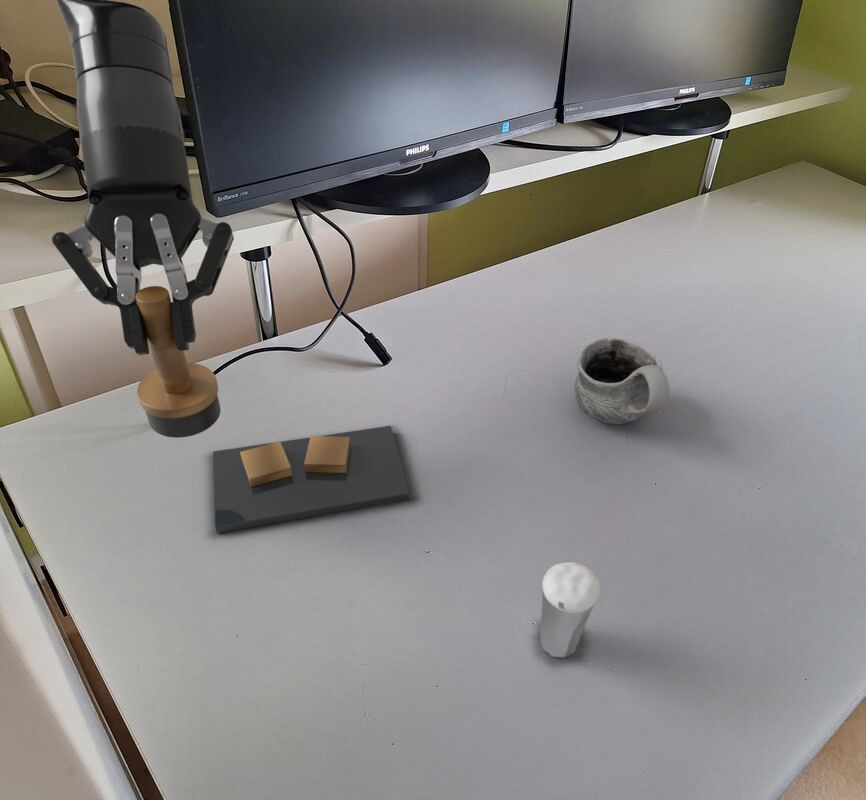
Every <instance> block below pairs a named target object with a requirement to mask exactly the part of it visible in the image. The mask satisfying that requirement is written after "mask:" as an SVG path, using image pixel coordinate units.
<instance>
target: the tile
mask: <svg viewBox="0 0 866 800" xmlns="http://www.w3.org/2000/svg"><path fill="white" fill-rule="evenodd" d="M322 436H331V437H350V441H351V447H350V453H349V458H348V464H347V470H346V473H328V472H305V466H304V462H305V458H306V454H307V450H308V445H309V441H310V437H311V436H310V437H303V438H297V439H296V438H295V439H290V440H282V441H280V442H281V443H282V446H283V448H284V451H285V453H286V456H287V458H288V461H289V463H290V466H291V470H292V476H288V477H285V478H281V479H278V480H274V481H271V482H267V483H264V484H260V485H257V486H253V487H251V486H250V483H249V480H248V477H247V474H246V471H245V468H244V465H243V462H242V459H241V455H240V452H242V451H246V450H249V449H253V448H257V447H261V446H265V445H268V444H272V443H273V442H271V443H270V442H269V443H262V444H255V445H248V446H241V447H235V448H233V447H232V448H228V449H220V450H214V451H212V469H213V470H212V472H213V473H212V476H213V479H212V480H213V509H214V511H213V512H214V529H215V533H216V534H221V533H227V532H233V531H238V530H244V529H249V528H255V527H261V526H266V525H267V526H268V525H272V524H278V523H279V524H280V523H284V522H291V521H296V520H302V519H307V518H312V517H318V516H324V515H329V514H335V513H341V512H347V511H352V510H358V509H363V508H370V507H376V506H381V505H387V504H392V503H398V502H404V501H409V500H410V490H409V488H408V484H407V479H406V476H405V471H404V469H403V465H402V461H401V457H400V454H399V450H398V447H397V443H396V440H395V439H396V438H395V436H394V432H393V428H392V426H391V425H385V426H379V427H373V428H371V427H370V428H365V429H357V430H351V431H344V432H338V433H330V434H324V435H322ZM276 442H277V441H276ZM276 442H275V441H274V443H276Z"/></svg>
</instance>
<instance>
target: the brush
mask: <svg viewBox="0 0 866 800" xmlns="http://www.w3.org/2000/svg"><path fill="white" fill-rule="evenodd" d="M136 300H137V304H138V307H139V310H140V314H141V317H142V321H143V324H144V327H145V331H146V334H147V339H148V345H149V347H150V348H149V349H150V351H151V355H152V358H153V362H154V365H155V369H154V370H152V371H149V373H147V374H146V375H145V376H144V377H142V379H141V380H140V381H139V383H138V385H137V389H136V394H137V398H138V402H139V404H140V406H141V408H142V410H144V411H145V414H146V417H147V421H148V424H149V426H150V428H151V429H152V430H153V431H154V432H155V433H157V434H158V435H161V436H164V437H166V438H178V439H179V438H188V437H192V436H195V435H199V434H201V433H203V432H205V431H206V430H208V429H210V428H211V427H212V426H213V425H215V424H216V422H217V421H218V420H219V418H220V415H221V412H222V411H221V404H220V401H219V400H220V399H219V395H218V393H219V385H218V381H217V377H216V374H215V373H214V372H213V371H212V370H211V369H210V368H209V367H207V366H205V365H202V364H200V363H195V362H187V358H186V357H187V356H186V353H185V350H184V351H179V350H178V349H177V347H176V342H175V335H174V328H173V321H172V314H171V307H170V302H172V300H171V296H170V292H169V290H168V289H167V288H166V287H163V286H160V285H151V286H146V287H144V288H140V291H138V292H137V294H136Z"/></svg>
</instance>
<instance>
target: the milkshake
mask: <svg viewBox="0 0 866 800" xmlns="http://www.w3.org/2000/svg"><path fill="white" fill-rule="evenodd" d="M541 585H542V596H541V597H542V599H541V601H542V602H541V616H540V617H541V618H540V633H539V640H540V643H541V646H542V650H543V651H544V652H546V653H547V654H548V655H550V656H551V657H553V658H561V659H565V658H566V657H569V656H571V655H572V654H574V653H575V652H576V649H577V646H578V644H579V642H580V639H581V637H582V633H583V631H584V629H585V626H586V624H587V622H588V620H589V618H590V616H591V614H592V612H593V610H594V608H595V606H596V603H597V601H598V598H599V596H600V591H601V588H600V587H601V585H600V581H599V579H598V578H597V576H596V575H595V574H594V573H593V571H592V570H591V569H590V568H589V567H587V566H584V565H582V564H579V563H577V562H572V561H571V562H569V561H567V562H560V563H555V564H554V565H552V566H551V567H550V568H549V569H548V570H547V571H546V573H545V574H544V576H543V579H542V584H541Z"/></svg>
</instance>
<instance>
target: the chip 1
mask: <svg viewBox="0 0 866 800" xmlns="http://www.w3.org/2000/svg"><path fill="white" fill-rule="evenodd" d="M281 442H282V441H276V443H275V442H271V443H272V444H268V443H267V444H268V445H265V446H261V447H257V448H253V449H249V450H246V451H242V452H240V455H241V459H242V462H243V465H244V468H245V471H246V474H247V477H248V480H249V483H250V486H251V487H253V486H257V485H260V484H264V483H267V482H271V481H274V480H278V479H281V478H285V477H288V476H292V470H291V466H290V463H289V461H288V458H287V456H286V453H285V451H284V448H283V446H282V443H281Z"/></svg>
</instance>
